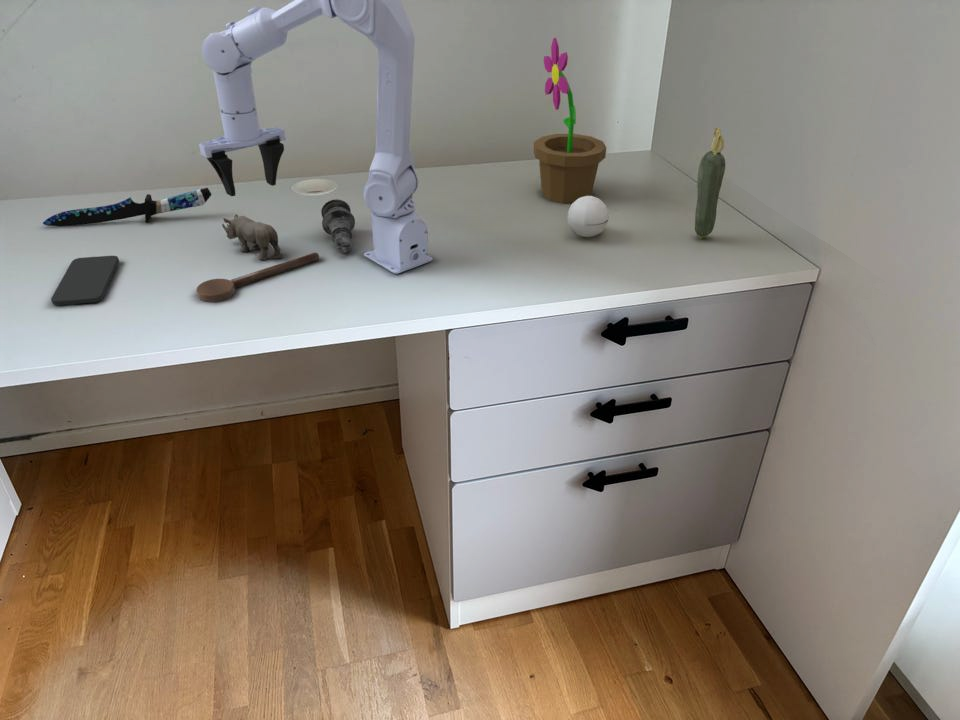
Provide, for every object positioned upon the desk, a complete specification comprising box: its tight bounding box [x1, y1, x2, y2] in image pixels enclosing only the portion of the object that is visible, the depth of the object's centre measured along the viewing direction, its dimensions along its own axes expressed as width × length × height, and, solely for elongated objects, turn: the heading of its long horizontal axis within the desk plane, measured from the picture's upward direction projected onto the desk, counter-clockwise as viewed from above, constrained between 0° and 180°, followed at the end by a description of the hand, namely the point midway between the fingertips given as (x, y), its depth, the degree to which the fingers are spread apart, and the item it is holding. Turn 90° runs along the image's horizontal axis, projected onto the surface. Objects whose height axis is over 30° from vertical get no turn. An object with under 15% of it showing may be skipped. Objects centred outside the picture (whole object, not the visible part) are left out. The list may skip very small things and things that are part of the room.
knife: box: [42, 187, 212, 227], centre depth 143 cm, size 31×3×4 cm, turn 98°
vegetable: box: [694, 127, 726, 240], centre depth 133 cm, size 4×4×20 cm
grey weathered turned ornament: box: [320, 198, 356, 254], centre depth 135 cm, size 6×6×12 cm
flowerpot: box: [533, 37, 607, 204], centre depth 149 cm, size 14×14×30 cm
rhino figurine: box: [221, 214, 283, 261], centre depth 133 cm, size 4×14×6 cm, turn 53°
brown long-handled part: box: [196, 252, 320, 303], centre depth 125 cm, size 22×6×1 cm, turn 132°
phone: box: [50, 255, 120, 306], centre depth 123 cm, size 7×1×15 cm
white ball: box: [567, 195, 617, 238], centre depth 138 cm, size 10×7×7 cm
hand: (251, 189), depth 133 cm, fingers open, 7 cm apart
